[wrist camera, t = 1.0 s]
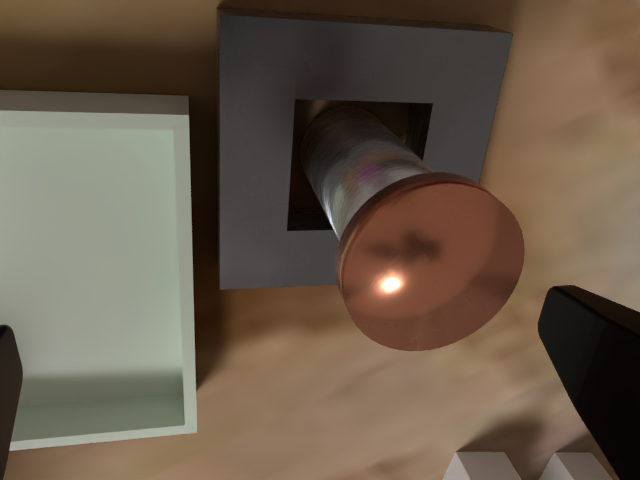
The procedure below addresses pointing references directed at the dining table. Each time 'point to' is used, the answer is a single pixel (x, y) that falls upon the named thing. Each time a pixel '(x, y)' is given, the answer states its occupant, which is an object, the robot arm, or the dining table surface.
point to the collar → (334, 84)
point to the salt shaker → (408, 235)
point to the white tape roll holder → (500, 476)
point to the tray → (98, 265)
